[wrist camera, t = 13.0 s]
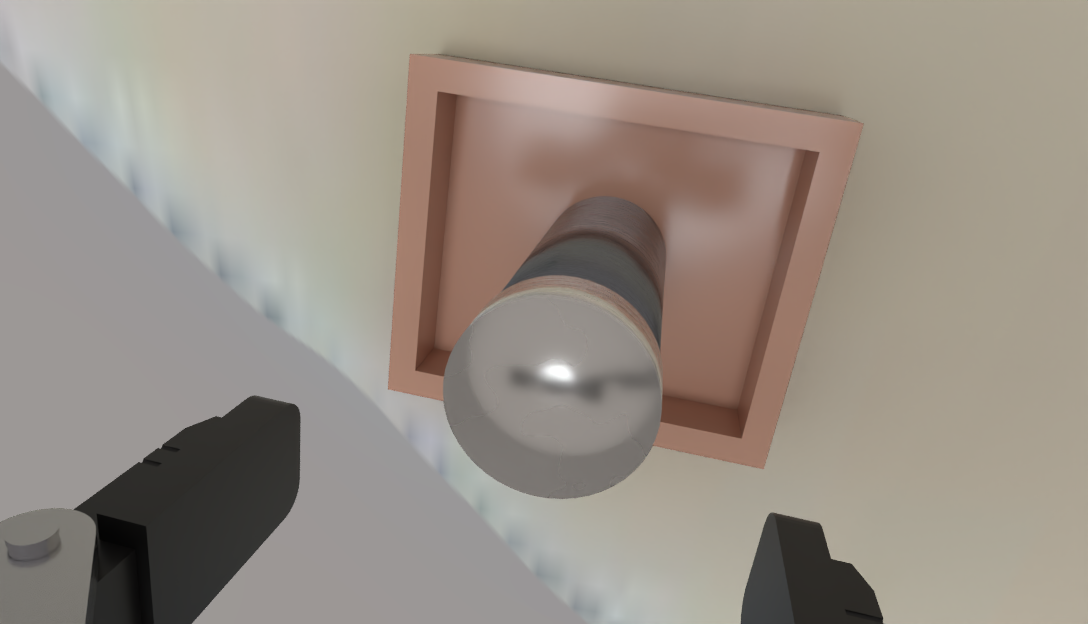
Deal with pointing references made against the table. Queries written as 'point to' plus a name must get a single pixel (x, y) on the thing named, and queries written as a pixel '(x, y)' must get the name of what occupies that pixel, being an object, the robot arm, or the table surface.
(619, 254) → the shaker
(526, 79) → the tray
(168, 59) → the table surface
